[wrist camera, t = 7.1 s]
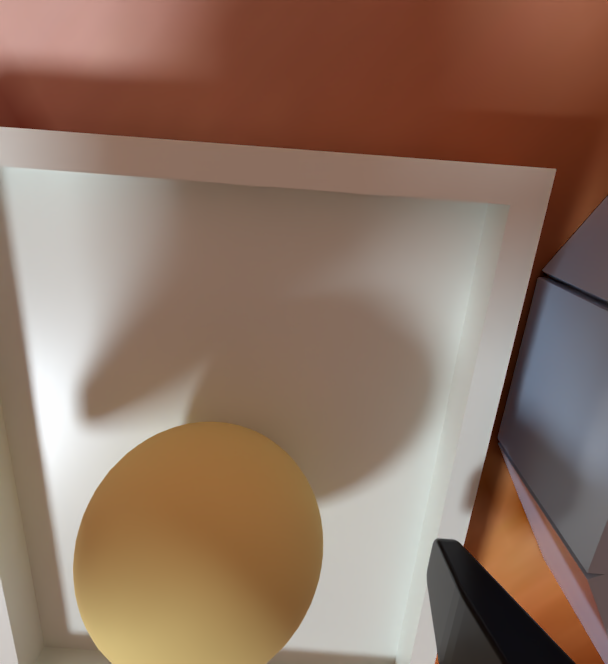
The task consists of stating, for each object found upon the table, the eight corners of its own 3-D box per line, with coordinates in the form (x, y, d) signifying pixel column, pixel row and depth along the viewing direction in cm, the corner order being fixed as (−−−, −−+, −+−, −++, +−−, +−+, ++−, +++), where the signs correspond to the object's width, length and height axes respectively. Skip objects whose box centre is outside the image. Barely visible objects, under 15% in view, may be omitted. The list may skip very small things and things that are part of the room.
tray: (406, 667, 13) (417, 730, 12) (37, 639, 13) (3, 698, 12) (515, 168, 9) (556, 168, 7) (-56, 125, 9) (-134, 116, 7)
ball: (307, 543, 11) (323, 756, 7) (128, 540, 11) (39, 762, 7) (321, 386, 10) (352, 543, 6) (115, 378, 10) (-8, 538, 5)
